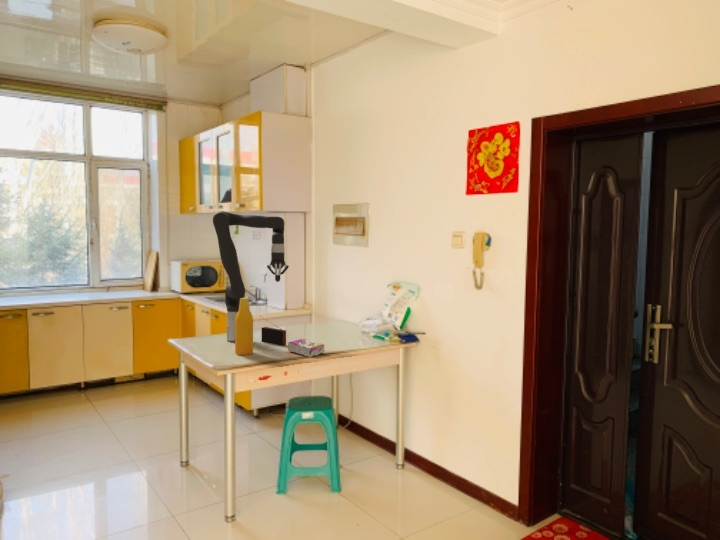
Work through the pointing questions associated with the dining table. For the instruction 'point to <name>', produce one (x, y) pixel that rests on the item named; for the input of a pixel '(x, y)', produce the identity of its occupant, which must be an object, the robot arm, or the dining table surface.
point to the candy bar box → (306, 347)
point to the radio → (274, 335)
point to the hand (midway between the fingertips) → (277, 281)
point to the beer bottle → (244, 329)
